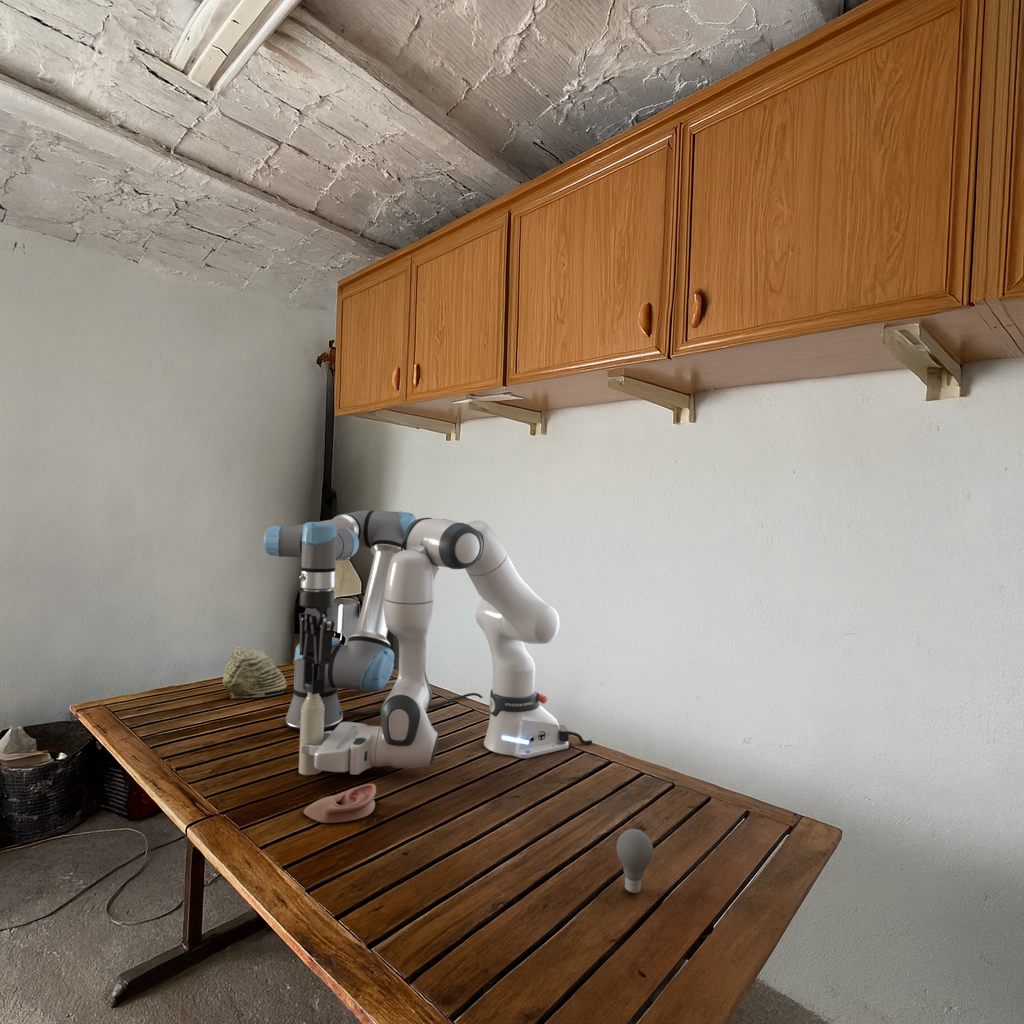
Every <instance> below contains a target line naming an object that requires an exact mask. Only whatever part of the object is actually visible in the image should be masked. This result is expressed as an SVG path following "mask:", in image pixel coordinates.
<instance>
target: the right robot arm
mask: <svg viewBox="0 0 1024 1024" xmlns="http://www.w3.org/2000/svg"><path fill="white" fill-rule="evenodd" d="M403 549H404V550H403ZM440 567H441V568H449V569H452V570H464V569H465V571H466V573H467V575H468V577H469V579H470V581H471V582H472V584H473V586H474V587H475V590H476V592H477V593H478V595H479V596H480V597H481V599H480V600H479V601H478V603H477V606H476V608H475V620H476V623H477V625H478V626H479V628H480V629H481V630H482V632H483V634H484V635H485V637H486V641H487V644H488V647H489V651H490V654H491V660H492V684H491V686H492V687H491V690H490V693H489V720H488V725H487V731H486V733H485V737H484V740H483V746H484V747H485V748H486V749H487V750H489V751H491V752H493V753H496V754H499V755H505V756H513V757H516V758H519V759H529V758H534V757H537V756H542V755H546V754H550V753H554V752H558V751H563V750H566V749H569V747H570V746H569V745H570V743H569V736H574V737H576V738H578V740H579V742H580V743H581V744H583V745H591V744H593V740H592V739H589V740H588V739H587V740H584V739H583V736H582V735H581V734H579V733H577V732H574V731H570V730H569V729H568V728H567V726H566V724H560V723H559V722H558V720H557V718H556V717H555V716H553V715H552V713H550V712H549V711H548V710H547V709H545V708H544V707H543V706H541V705H540V703H541V704H544V705H545V704H547V702H548V697H547V696H546V695H544V694H543V693H539V692H538V691H536V690H535V681H536V680H535V678H536V664H535V661H534V659H533V657H532V656H531V655H530V654H529V652H528V651H527V649H526V647H525V643H526V644H530V645H546V644H548V643H551V642H552V641H553V640H554V639H555V637H556V636H557V634H558V632H559V629H560V616H559V614H558V611H557V610H556V608H554V607H553V606H551V605H550V604H548V603H546V601H544V600H543V599H542V598H540V596H539V595H537V594H536V593H535V592H534V590H533V589H532V588H531V587H530V586H529V585H528V584H527V583H526V582H525V580H524V579H522V577H521V575H520V574H519V573H518V571H517V569H516V567H515V565H514V564H513V562H512V560H511V558H510V556H509V554H508V553H507V551H506V548H505V546H504V545H503V543H502V541H501V539H500V538H499V536H498V535H497V534H496V532H495V531H494V530H493V529H492V528H491V526H490V525H489V524H488V523H486V522H485V521H481V520H472V521H469V522H466V523H465V522H458V521H456V520H451V519H447V518H433V517H421V518H420V517H419V518H418V519H417V518H416V520H415V521H413V522H412V523H411V524H410V525H409V526H408V527H407V529H406V531H405V534H404V537H403V542H402V544H401V551H400V552H398V553H396V554H395V555H394V556H393V557H392V559H391V561H390V564H389V568H388V573H387V578H386V584H385V595H384V616H385V623H386V627H387V629H388V632H390V633H391V634H392V635H393V636H395V637H396V638H397V640H398V645H399V650H398V652H399V654H398V662H399V663H398V674H397V678H396V680H395V681H394V684H393V686H392V687H391V690H390V692H389V693H388V695H387V696H386V698H385V700H384V702H383V703H382V706H381V708H380V709H381V712H380V721H381V722H380V724H381V725H368V724H366V723H362V722H354V721H343V722H341V723H340V724H339V725H338V726H337V727H335V728H334V730H326V731H324V741H323V744H322V745H317V746H314V745H312V744H311V743H308V744H307V743H305V744H304V745H303V746H302V753H304V754H310V755H312V756H314V767H315V768H316V769H318V770H322V771H323V772H330V773H331V772H332V773H333V772H334V773H346V772H348V771H349V775H352V776H353V775H354V776H355V775H360V774H361V773H362V772H364V771H366V770H368V769H371V768H382V767H392V768H395V769H423V768H427V767H429V766H430V765H431V764H432V763H433V762H434V759H435V756H436V752H437V749H438V746H439V745H438V744H439V733H438V732H437V731H436V730H435V729H434V726H433V725H432V723H431V721H430V720H429V717H428V714H427V710H428V709H429V708H428V707H429V706H430V705H432V704H431V703H432V701H433V700H432V699H433V691H432V687H431V684H430V682H429V680H428V677H427V673H426V652H427V651H426V649H427V637H428V633H429V630H430V626H431V622H432V617H433V610H434V595H435V587H434V585H435V584H434V582H435V578H436V575H437V573H438V571H439V570H440ZM322 771H321V772H322Z"/></svg>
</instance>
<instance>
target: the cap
mask: <svg viewBox="0 0 1024 1024" xmlns="http://www.w3.org/2000/svg"><path fill="white" fill-rule="evenodd" d="M305 691H306V692H312V681H307V682H306V683H305Z"/></svg>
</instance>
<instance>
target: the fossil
mask: <svg viewBox="0 0 1024 1024" xmlns="http://www.w3.org/2000/svg"><path fill="white" fill-rule="evenodd" d="M222 676H223V677H222V685H223V687H224V688H225V690H226V691H228V693H229V698H230V699H250V698H264V697H271V696H275V695H281V694H284V693H285V691H286V689H287V687H288V686H287V680H286V678H285V676H284V674H283V673H282V672H281V669H279V668H278V667H277V665H276V663H275V662H274V660H273V659H272V658H271V657H270V656H269V655H268V654H267V653H266V652H265V650H264V649H263V648H260V647H258V648H251V647H247V646H246V647H245V646H238V647H237V648H236V649H235V650H233V651H232V653H231V656H230V657H229V659H228V660H227V663H226V666H225V668H224V671H223V675H222Z"/></svg>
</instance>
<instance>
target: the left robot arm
mask: <svg viewBox="0 0 1024 1024" xmlns="http://www.w3.org/2000/svg"><path fill="white" fill-rule="evenodd" d="M416 517H417V516H415V514H413V513H411V512H405V511H401V510H399V511H392V510H391V511H390V510H389V511H387V510H371V509H367V510H358V511H357V510H356V511H352V512H348V513H342V514H337V515H336V516H334V517H333V518H332V519H327V520H320V521H307V522H304V523H303V524H298V525H291V526H290V525H289V526H284V525H273V526H269V527H268V528H267V529H266V531H265V532H264V536H263V549H264V552H265V553H266V554H267V555H269V556H273V557H279V558H282V557H284V558H285V557H286V558H301V567H300V575H299V578H298V579H299V580H300V588H301V590H300V591H299V606H300V607H302V608H304V609H305V610H304V612H300V613H299V614H298V618H299V643H298V644H297V645H296V647H295V652H294V653H295V654H294V659H293V661H294V672H293V695H292V696H293V697H292V699H291V702H290V704H289V708H288V711H287V713H286V715H285V726H286V728H287V729H289V730H291V731H294V732H295V731H296V732H300V719H301V708H302V705H303V703H304V702H305V699H306V697H307V694H308V692H306V691H305V683H306V682H307V681H312V694H318V693H319V696H321V699H322V701H323V704H324V707H325V715H324V732H326V731H330V730H332V729H335V728H336V727H337V726H338V725H339V724H340V723H341V722H344V715H362V716H363V715H372V714H373V715H374V714H376V713H381V708H380V709H375V710H369V711H355V710H350V711H349V710H347V711H345V710H343V709H342V706H341V702H340V699H339V695H338V689H342V690H343V689H344V690H351V691H353V690H354V691H362V692H365V693H366V692H379V691H381V690H383V689H384V688H385V686H387V684H388V683H389V681H390V678H391V677H392V674H393V671H394V666H395V662H394V661H395V652H394V651H393V650H392V649H391V643H390V641H389V639H387V636H388V632H389V630H388V629H387V627H386V623H385V616H384V595H385V584H386V578H387V573H388V568H389V564H390V561H391V559H392V557H393V556H394V555H395V554H396V553H398V552H400V551H401V544H402V542H403V537H404V534H405V531H406V529H407V527H408V526H409V525H410V524H411V523H412V522H413V521H415V520H417V518H416ZM359 548H365V549H370V552H371V554H372V555H373V559H372V564H371V568H370V572H369V576H368V580H367V585H366V589H365V593H364V597H363V601H362V605H361V610H360V613H359V618H358V622H357V626H356V631H355V633H353V634H351V635H350V636H348V641H347V644H341V641H340V639H339V638H338V637H334V636H333V634H334V629H335V621H334V620H330V619H329V612H328V610H329V608H332V607H334V605H335V591H334V590H333V589H335V586H336V562H337V561H341V560H343V561H344V560H347V559H349V558H351V557H353V556H354V555H356V553H357V552H358V550H359ZM403 550H404V549H403ZM471 696H475V697H478V698H480V699H483V698H484V697H483V695H481V694H479V693H476V692H469V693H466V694H463V695H457V696H454V697H452V698H449V699H447V700H445V701H442V702H438V703H434V704H430V706H429V707H428V709H432V708H436V707H440V706H443V705H448V704H449V703H451V702H453V701H456V700H460V699H464V698H468V697H471Z"/></svg>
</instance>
